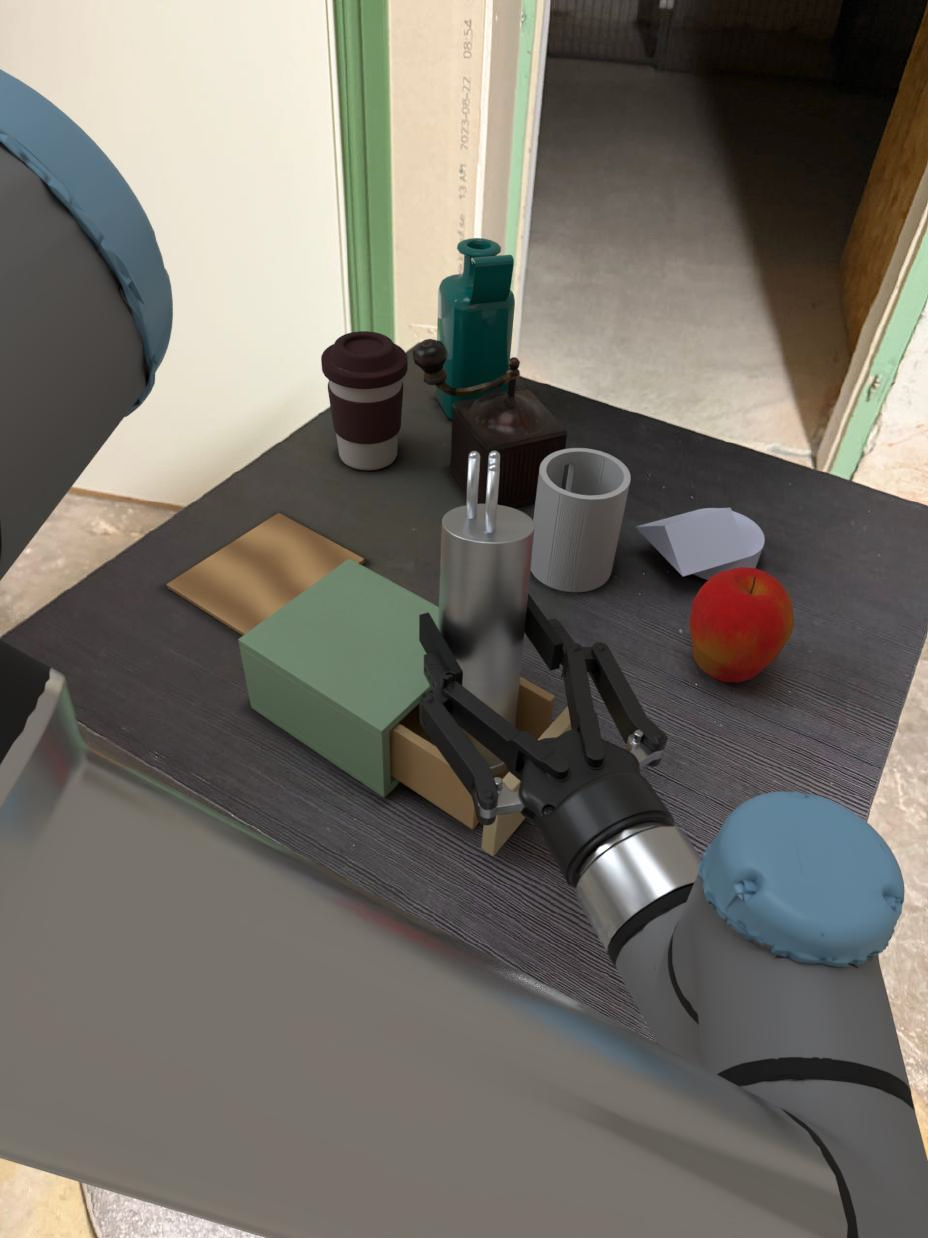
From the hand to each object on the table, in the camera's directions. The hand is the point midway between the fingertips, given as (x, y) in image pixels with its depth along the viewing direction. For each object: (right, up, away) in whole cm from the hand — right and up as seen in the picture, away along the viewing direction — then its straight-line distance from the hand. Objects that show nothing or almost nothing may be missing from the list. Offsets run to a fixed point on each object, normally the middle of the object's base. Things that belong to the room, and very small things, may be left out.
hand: (472, 613), depth 67 cm
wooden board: (-21, +4, +25) cm, 33 cm away
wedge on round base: (+26, +6, +30) cm, 40 cm away
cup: (+11, +5, +28) cm, 31 cm away
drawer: (+1, -13, +7) cm, 15 cm away
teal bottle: (0, +28, +52) cm, 59 cm away
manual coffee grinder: (+2, +16, +39) cm, 42 cm away
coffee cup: (-13, +20, +42) cm, 49 cm away
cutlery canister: (0, -11, +6) cm, 13 cm away
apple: (+25, -5, +18) cm, 31 cm away
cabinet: (-9, -8, +13) cm, 18 cm away
